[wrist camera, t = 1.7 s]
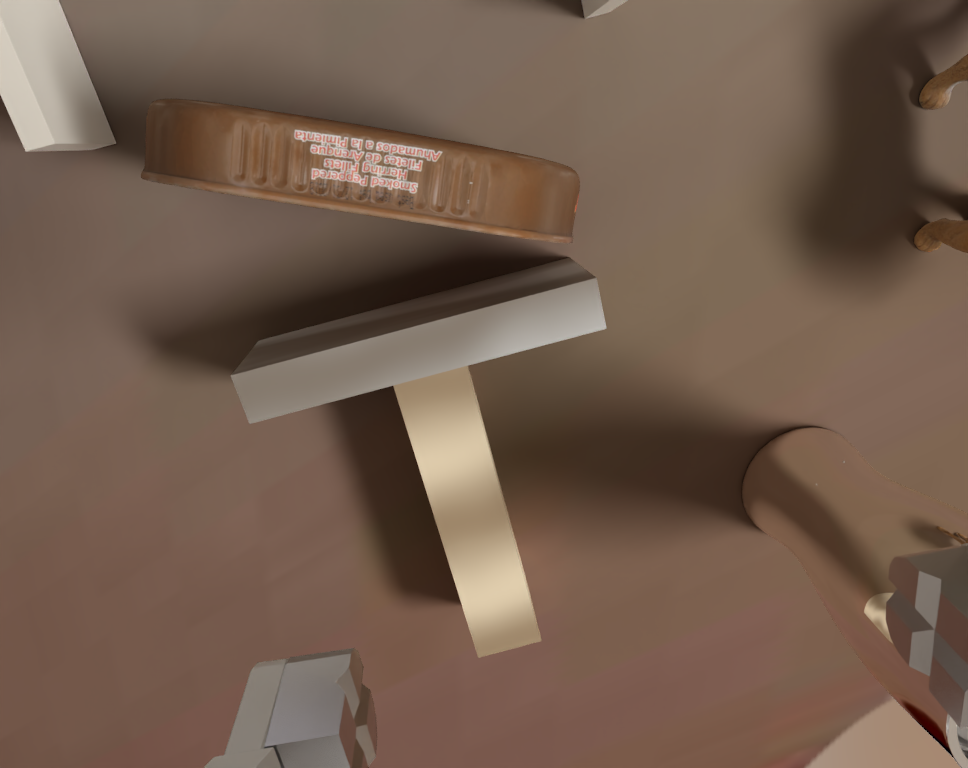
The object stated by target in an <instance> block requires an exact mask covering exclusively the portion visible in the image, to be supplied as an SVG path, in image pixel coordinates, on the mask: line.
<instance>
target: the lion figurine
mask: <svg viewBox="0 0 968 768" xmlns="http://www.w3.org/2000/svg"><path fill="white" fill-rule="evenodd" d="M967 80H968V54H967V55H966V56H964V57H963V58H962V59H961V60H959V61H958V62H957V63H956V64H954V65H953V66H952V67H950V68H949V69H947V70H946V71H944V72H942V73H940V74H938V75H937V76H935V77H934V78H932V79H931V80H930V81H929V82H928V83H927V84H926V85H925V86H924V88H923V90H922V91H921V94H920V97H919V102H920V104H921V106H922V107H923V108H924V109H930V110H933V109H938V108H942V107H944V106H946V104H947V103H948V102H949V99H950V96H951V92H952V89H953V87H954V86H955V85H956V84H958V83H960V82H962V81H967ZM942 242H943V243H944V244H947V245H949V246H951V247H953V248H955V249H957V250H960V251H962V252H966V253H968V220H966V221H956V220H949V219H940V220H937V221H934V222H931V223H928V224H926V225H925V226H923V227H922V228H921V229H920V230H919V231H918V232H917V234H916V236H915V238H914V244H915V245H916V246H917V248H918V249H919V250H922V251H926V252H931V251H933V250H936V249H938V248H940V246H941V243H942Z"/></svg>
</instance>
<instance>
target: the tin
mask: <svg viewBox="0 0 968 768" xmlns="http://www.w3.org/2000/svg"><path fill="white" fill-rule="evenodd" d="M141 178H142V179H145V180H149V181H152V182H158V183H163V184H169V185H176V186H181V187H186V188H193V189H198V190H206V191H210V192H218V193H222V194H225V193H226V194H231V195H237V196H243V197H249V198H257V199H264V200H270V201H276V202H282V203H289V204H297V205H302V206H308V207H315V208H322V209H330V210H336V211H342V212H350V213H357V214H363V215H369V216H376V217H383V218H390V219H396V220H403V221H408V222H415V223H422V224H429V225H436V226H442V227H448V228H455V229H461V230H467V231H474V232H481V233H487V234H494V235H502V236H510V237H518V238H523V239H533V240H540V241H549V242H557V243H572V242H573V236H572V230H573V224H574V218H575V213H576V207H577V202H578V196H579V189H580V180H579V177H578V174H577V173H576V172H575V171H574V170H573V169H572V168H570V167H568V166H565V165H563V164H560V163H556V162H553V161H549V160H545V159H542V158H537V157H532V156H528V155H524V154H519V153H514V152H509V151H503V150H498V149H493V148H488V147H483V146H478V145H472V144H466V143H460V142H455V141H450V140H443V139H437V138H431V137H426V136H421V135H415V134H409V133H403V132H398V131H392V130H387V129H381V128H375V127H369V126H363V125H357V124H351V123H344V122H338V121H332V120H326V119H319V118H313V117H307V116H301V115H294V114H287V113H280V112H273V111H267V110H261V109H254V108H248V107H241V106H234V105H227V104H220V103H212V102H204V101H195V100H182V99H162V100H156V101H153V102H152V103H151V104H150V106H149V108H148V113H147V126H146V150H145V168H144V170H143V171H142V173H141Z"/></svg>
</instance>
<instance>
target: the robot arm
mask: <svg viewBox="0 0 968 768" xmlns="http://www.w3.org/2000/svg"><path fill="white" fill-rule="evenodd" d="M888 579H889V580H890V581H891V582H892V583H893V584H894V585H895V587H896V588H897V590H896V591H895V592H894V593H893V595H892V596H891V597H890V598H889V600H888V601H887V602H886V624H887V627H888V631H889V634H890V638H891V640H892V642H893V644H894V646H895V648H896V649H897V651H898V653H899V654H900V655H901V657H902V658H903V659H904V661H905V662H906V663H907V664H908V666H910V667H912V668H914V669H916V670H918V671H920V672H922V673H924V674H926V675H928V676H929V691H930V692H931V694H932V695H933V696H934V697H935V698H936V700H937V701H938V702H939V703H940V705H941V706H942V707H943V708H944V709H945V711H946V712H947V713H948V714H949V715H950V717H951V718H952V719H953V720H954V721H955V723H956V724H957V725H958V726H959V727H960V728H964V727H968V543H965V544H961V545H960V546H951V547H946V548H940V549H934V550H929V551H923V552H917V553H912V554H906V555H901V556H895V557H894V558H893V560H892V562H891V564H890V567H889V577H888ZM363 668H364V667H363V664H362V661H361V658H360V655H359V652H358V650H356V649H355V648H351V649H345V650H338V651H331V652H324V653H317V654H310V655H303V656H296V657H290V658H289V659H280V660H273V661H266V662H259V663H257V664H256V665H255V666H254V667H253V669H252V670H251V672H250V675H249V678H248V681H247V684H246V687H245V691H244V694H243V697H242V700H241V703H240V706H239V709H238V713H237V716H236V719H235V722H234V725H233V728H232V731H231V735H230V738H229V741H228V744H227V747H226V750H225V753H224V756H218V757H214V758H213V759H212V760H211V761H210V762H209V763H208V764H207V765H206V766H205V767H204V768H369V767H368V766H369V765H370V764H371V762H372V761H373V760H374V758H375V757H376V749H377V723H376V713H375V707H374V702H373V698H372V695H371V691H370V689H368V688H367V687H366V686H364V685H363V684H362V677H363Z"/></svg>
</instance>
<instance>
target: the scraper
mask: <svg viewBox="0 0 968 768" xmlns="http://www.w3.org/2000/svg"><path fill="white" fill-rule="evenodd" d="M603 329H606V323H605V318H604V313H603V308H602V303H601V298H600V293H599V288H598V283H597V278H596V277H595V276H593V275H592V274H591V273H589V272H588V271H587V270H585V269H584V268H583V267H581V266H580V265H579V264H577V263H576V262H575V261H573V260H572V259H571V258H570V257H569V258H566V259H562V260H558V261H555V262H551V263H547V264H543V265H540V266H536V267H532V268H528V269H525V270H521V271H517V272H513V273H510V274H506V275H502V276H498V277H495V278H491V279H487V280H483V281H480V282H476V283H472V284H468V285H465V286H461V287H457V288H453V289H450V290H446V291H442V292H439V293H435V294H431V295H427V296H424V297H420V298H416V299H412V300H409V301H405V302H401V303H397V304H394V305H390V306H386V307H382V308H379V309H375V310H371V311H367V312H364V313H360V314H356V315H352V316H349V317H345V318H341V319H338V320H334V321H330V322H326V323H323V324H319V325H315V326H311V327H308V328H304V329H300V330H296V331H293V332H289V333H285V334H281V335H278V336H274V337H270V338H266V339H263V340H259V341H258V342H257V343H256V344H255V346H254V347H253V348H252V349H251V351H250V352H249V353H248V354H247V356H246V357H245V358H244V359H243V361H242V362H241V363H240V364H239V366H238V367H237V368H236V369H235V371H234V372H233V373H232V374H231V378H232V381H233V383H234V386H235V388H236V391H237V393H238V396H239V398H240V401H241V404H242V406H243V409H244V411H245V414H246V416H247V419H248V421H249V424H251V423H255V422H259V421H262V420H266V419H270V418H274V417H277V416H281V415H285V414H289V413H292V412H296V411H300V410H304V409H307V408H311V407H315V406H319V405H322V404H326V403H330V402H334V401H337V400H341V399H345V398H349V397H352V396H356V395H360V394H363V393H367V392H371V391H375V390H378V389H382V388H386V387H390V386H393V387H394V390H395V393H396V396H397V399H398V403H399V406H400V409H401V412H402V415H403V419H404V422H405V425H406V428H407V431H408V435H409V438H410V441H411V444H412V447H413V451H414V454H415V457H416V460H417V463H418V466H419V470H420V473H421V476H422V479H423V482H424V486H425V489H426V492H427V495H428V498H429V502H430V505H431V508H432V511H433V514H434V518H435V521H436V524H437V527H438V530H439V534H440V537H441V540H442V543H443V546H444V550H445V553H446V556H447V559H448V562H449V565H450V569H451V572H452V575H453V578H454V581H455V585H456V588H457V591H458V594H459V597H460V601H461V604H462V607H463V610H464V613H465V617H466V620H467V623H468V626H469V629H470V633H471V636H472V639H473V642H474V645H475V649H476V652H477V655H478V658H480V657H483V656H487V655H491V654H495V653H498V652H502V651H506V650H509V649H513V648H517V647H521V646H524V645H528V644H532V643H536V642H539V641H542V640H541V636H540V632H539V628H538V624H537V620H536V616H535V612H534V608H533V604H532V600H531V596H530V592H529V588H528V584H527V581H526V577H525V573H524V570H523V566H522V562H521V559H520V555H519V551H518V548H517V544H516V540H515V537H514V533H513V529H512V525H511V522H510V518H509V514H508V511H507V507H506V503H505V500H504V496H503V492H502V489H501V485H500V481H499V478H498V474H497V470H496V467H495V463H494V459H493V456H492V452H491V448H490V445H489V441H488V437H487V434H486V430H485V426H484V423H483V419H482V415H481V412H480V408H479V404H478V400H477V397H476V393H475V389H474V386H473V382H472V378H471V375H470V371H469V367H468V365H472V364H476V363H479V362H483V361H487V360H491V359H494V358H498V357H502V356H506V355H509V354H513V353H517V352H521V351H524V350H528V349H532V348H536V347H539V346H543V345H547V344H551V343H554V342H558V341H562V340H565V339H569V338H573V337H577V336H580V335H584V334H588V333H592V332H595V331H599V330H603Z"/></svg>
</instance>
